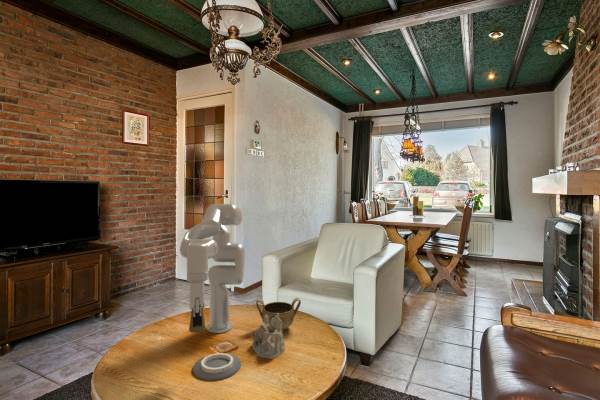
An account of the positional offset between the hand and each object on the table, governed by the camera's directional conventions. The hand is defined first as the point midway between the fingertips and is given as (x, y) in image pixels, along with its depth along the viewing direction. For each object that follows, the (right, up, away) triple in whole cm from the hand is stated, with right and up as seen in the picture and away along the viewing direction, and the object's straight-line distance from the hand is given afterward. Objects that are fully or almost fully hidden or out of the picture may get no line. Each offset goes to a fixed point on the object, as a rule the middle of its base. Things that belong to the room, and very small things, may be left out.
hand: (197, 323), depth 124 cm
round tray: (+7, -19, +4) cm, 20 cm away
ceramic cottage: (+24, -19, +20) cm, 37 cm away
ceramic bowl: (+28, -18, +41) cm, 53 cm away
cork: (0, -2, 0) cm, 2 cm away
